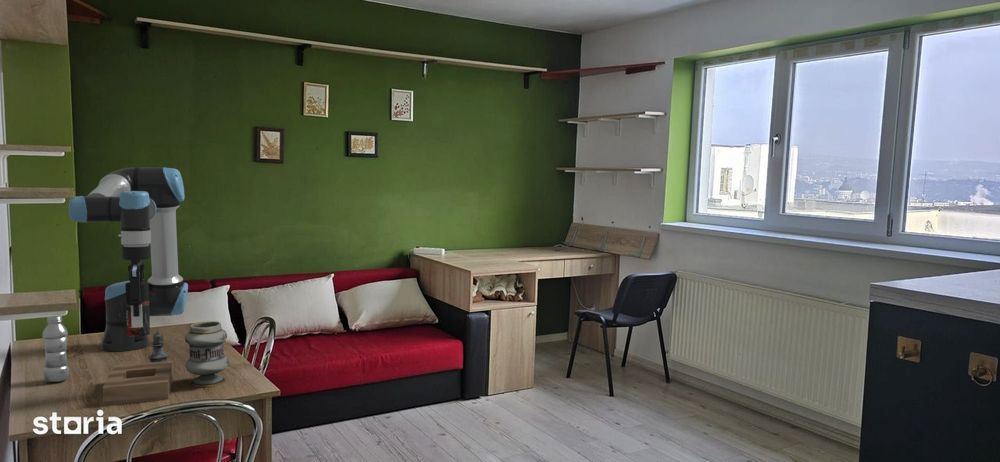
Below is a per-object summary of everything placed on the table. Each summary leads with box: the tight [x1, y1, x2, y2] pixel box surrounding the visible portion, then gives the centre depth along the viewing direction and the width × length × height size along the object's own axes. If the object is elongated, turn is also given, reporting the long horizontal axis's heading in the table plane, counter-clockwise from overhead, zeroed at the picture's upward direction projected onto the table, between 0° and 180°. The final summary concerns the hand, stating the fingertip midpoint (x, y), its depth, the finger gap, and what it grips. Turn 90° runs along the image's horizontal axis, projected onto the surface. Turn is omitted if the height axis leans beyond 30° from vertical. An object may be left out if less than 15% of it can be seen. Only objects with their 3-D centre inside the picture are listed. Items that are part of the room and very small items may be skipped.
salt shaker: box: [147, 330, 169, 363], centre depth 222 cm, size 6×6×12 cm
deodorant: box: [125, 281, 151, 337], centre depth 198 cm, size 6×6×15 cm
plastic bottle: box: [41, 315, 71, 383], centre depth 205 cm, size 6×7×20 cm
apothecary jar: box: [184, 320, 230, 388], centre depth 208 cm, size 12×12×18 cm
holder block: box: [102, 360, 174, 406], centre depth 200 cm, size 22×16×5 cm
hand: (138, 324), depth 198 cm, fingers closed on deodorant, 6 cm apart
